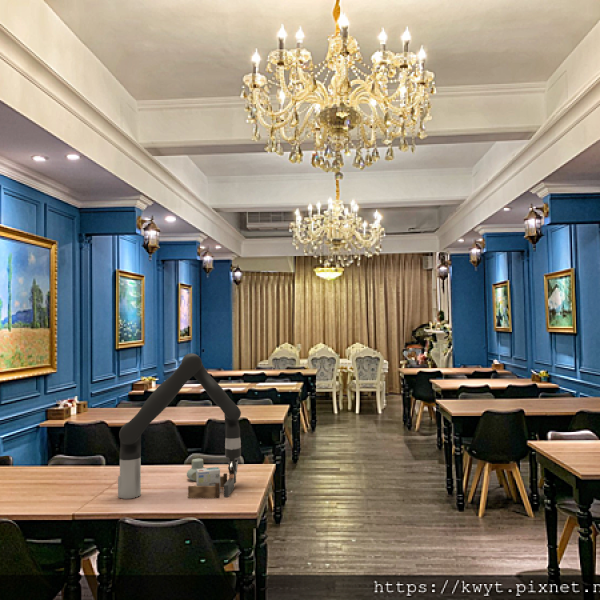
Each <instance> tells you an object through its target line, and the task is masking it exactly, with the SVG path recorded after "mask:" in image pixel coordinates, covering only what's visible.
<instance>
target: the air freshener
mask: <svg viewBox="0 0 600 600" xmlns="http://www.w3.org/2000/svg"><path fill="white" fill-rule="evenodd" d="M202 468H205V467H204V459H203V458H193V459H191V468H189V469H188V470H187V472H186V477H187V479H188V480H190V481H193V482H196V469H202Z"/></svg>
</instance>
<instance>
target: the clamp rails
mask: <svg viewBox="0 0 600 600" xmlns="http://www.w3.org/2000/svg"><path fill="white" fill-rule="evenodd" d="M227 480H228V473H223V474H222V475H220V487H224V484H225V483H226V482H227ZM187 495H188V496H187V498H188V499H220V497H221V496H220V490H219V483H216V484H215V486H197V485H189V486H187Z"/></svg>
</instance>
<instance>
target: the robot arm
mask: <svg viewBox="0 0 600 600" xmlns="http://www.w3.org/2000/svg"><path fill="white" fill-rule="evenodd" d="M192 377H193V378H195V380H196V381H197V382H198V383H199V384H200V386H201V388H203V390H204V391H205V392H206V393H207V395H208V396H209V398H210V399H211V400H212V401H213V403H214V404H215V405H216V406H217V407H218V408H220V410H221V411H222V413H223V415H224V424H225V439H224V440H225V443H224V445H225V446H224V448H225V449H224V450H225V452H224V454H225V455H224V457H226V458H227V459H229V460H228V467H227V469H228V473H229V475H230V474H234V485H235V484H236V483H237V473H238V468H239V467H238V466H239V465H238V464H239V460H238V459H239V458H241V457H242V448H241V447H242V445H241V443H242V441H241V428H240V424H239V419H240V418H241V415H242V412H241V409H240V408H239V406H238V405H237V404H236V403H235V402H234V401H233V400H232V399H231V398H230V397H229V395H228V394H227V393H226V391H225V390H224V389H223V388H222V387H221V386H220V384H219V383H218V382H217V381H216V380H215V379H214V377H212V376H211V374H210V373H209V372H208V371H207V370H206V368H205V366H204V364H203V361H202V358H201V357H200V356H199V355H197V354H196V353H193V352H192V353H187V354H185V355H184V356H183V357H182V359H181V363H180V365H179V366H178V367H177V368H176V370H175V371H174V372H173V373H172V374H171V376H169V377H168V378H166V379H165V380H164V381H163V382H161V383H160V384H159V385H158V386H157V387H156V389H154V391H152V393H151V394H150V395H149V397H147V399H146V401H145V402H144V403H143V404H142V406H141V408H140V409H139V411H138V412H137V413H136V415H135V416H133V417H132V418H131V419H130V420H129V421H128V422H126V423H124V424H123V425H122V426H121V428H120V430H119V433H118V436H119V442H120V443H119V444H120V445H119V446H120V447H119V475H118V476H117V498H121V499H125V500H129V499H135V497H136V498H139V497H140V496H142V494H141V492H142V490H141V489H142V488H141V487H142V486H141V485H142V483H141V482H142V481H141V480H142V477H141V473H142V472H141V471H142V468H141V465H142V464H141V461H142V460H141V458H142V456H141V453H142V452H141V451H142V434H143V432H144V431H145V430H147V427H148V426H149V425H150V424H151V423H152V422H153V421H154V420H155V419H156V418H157V417H159V415H161V413H162V412H163V411H164V410H165V409H166V408H167V407H168V405H170V404H171V403H172V401H174V399H175V397H176V396H177V395H178V394H179V392H180V391H181V390H182V388H183V387H184V386H185V384H186V383H187V382H188V381H189V380H190V379H192ZM229 475H228V476H229ZM138 496H139V497H138Z"/></svg>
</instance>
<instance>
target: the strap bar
mask: <svg viewBox="0 0 600 600" xmlns="http://www.w3.org/2000/svg"><path fill="white" fill-rule="evenodd" d="M228 476H229V477H228V478H227V482H226V483H225V484H224V488H223V497H230V495H231V494H232V492H233V491H234V489H235V484H234V474H230V475H228Z"/></svg>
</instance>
